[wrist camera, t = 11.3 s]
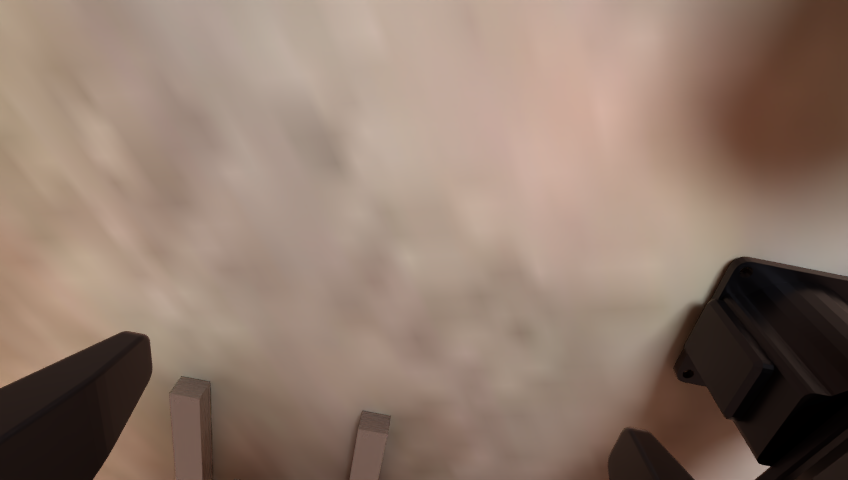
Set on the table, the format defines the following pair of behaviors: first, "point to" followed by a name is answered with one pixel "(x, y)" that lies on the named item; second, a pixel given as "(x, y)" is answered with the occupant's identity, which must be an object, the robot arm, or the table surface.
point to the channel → (196, 442)
